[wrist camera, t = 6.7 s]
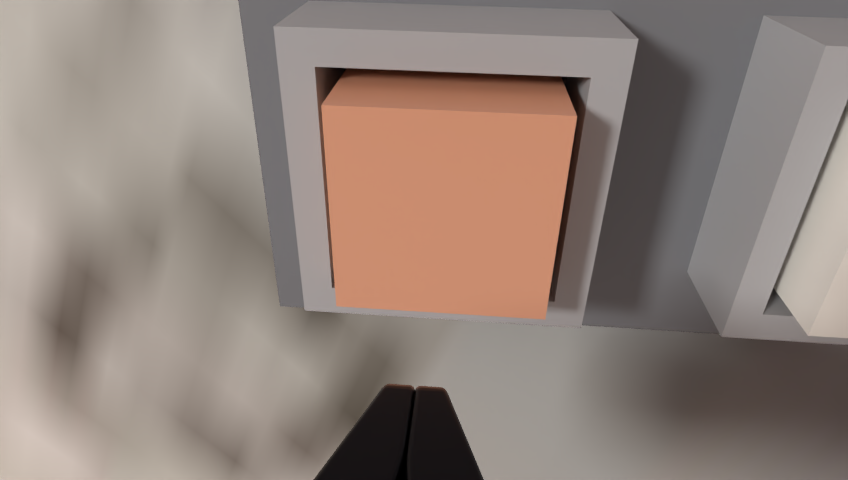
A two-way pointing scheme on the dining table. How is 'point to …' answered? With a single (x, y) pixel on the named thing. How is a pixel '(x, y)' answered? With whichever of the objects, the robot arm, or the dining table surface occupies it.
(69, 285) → the dining table surface
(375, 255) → the key terracotta
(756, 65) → the key panel
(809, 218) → the key ivory
